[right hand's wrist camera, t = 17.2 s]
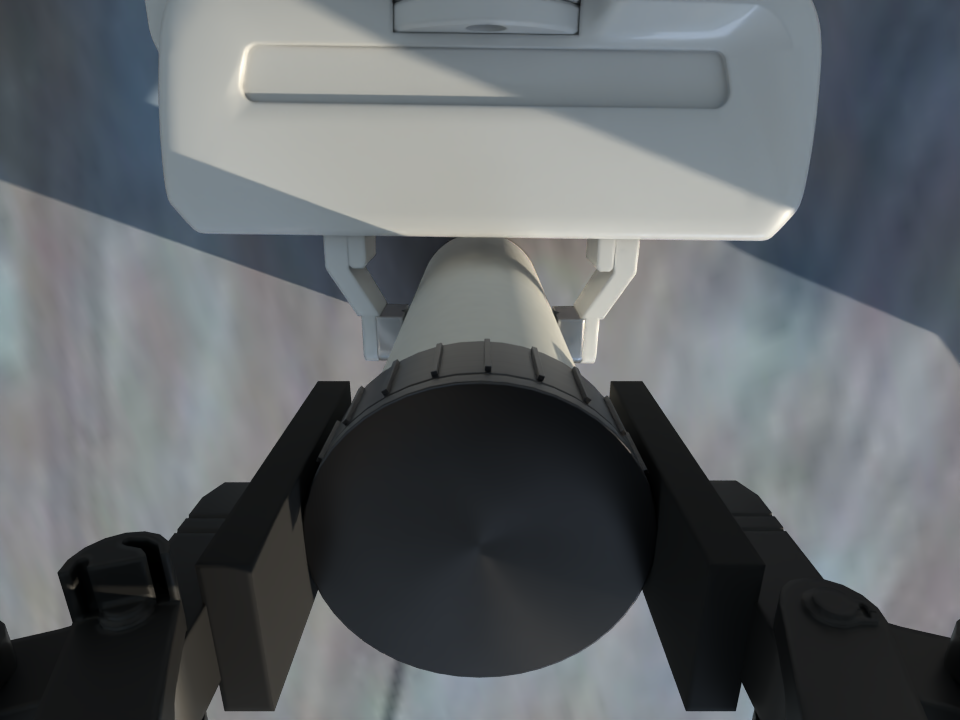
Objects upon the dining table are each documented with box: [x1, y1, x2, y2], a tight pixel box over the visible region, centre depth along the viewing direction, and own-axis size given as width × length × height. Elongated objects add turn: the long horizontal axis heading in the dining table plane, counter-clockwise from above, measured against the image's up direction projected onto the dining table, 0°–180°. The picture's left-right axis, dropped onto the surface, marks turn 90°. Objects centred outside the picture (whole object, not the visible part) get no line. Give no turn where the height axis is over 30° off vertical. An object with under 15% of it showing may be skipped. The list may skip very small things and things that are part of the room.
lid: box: [303, 339, 658, 678], centre depth 11 cm, size 6×6×2 cm
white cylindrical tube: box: [383, 237, 576, 372], centre depth 20 cm, size 6×6×18 cm
